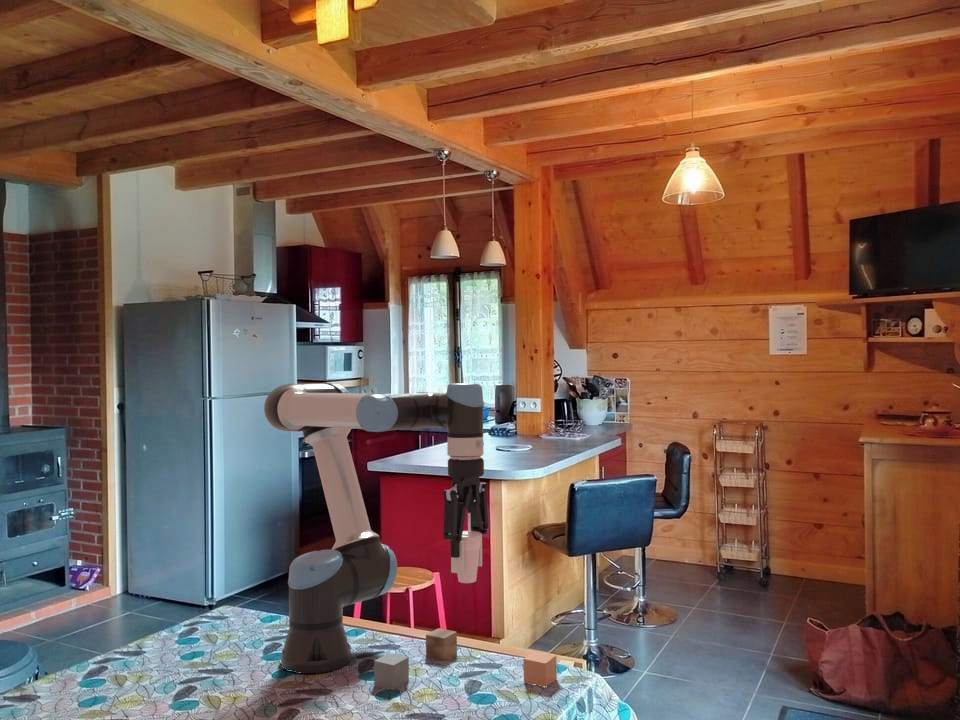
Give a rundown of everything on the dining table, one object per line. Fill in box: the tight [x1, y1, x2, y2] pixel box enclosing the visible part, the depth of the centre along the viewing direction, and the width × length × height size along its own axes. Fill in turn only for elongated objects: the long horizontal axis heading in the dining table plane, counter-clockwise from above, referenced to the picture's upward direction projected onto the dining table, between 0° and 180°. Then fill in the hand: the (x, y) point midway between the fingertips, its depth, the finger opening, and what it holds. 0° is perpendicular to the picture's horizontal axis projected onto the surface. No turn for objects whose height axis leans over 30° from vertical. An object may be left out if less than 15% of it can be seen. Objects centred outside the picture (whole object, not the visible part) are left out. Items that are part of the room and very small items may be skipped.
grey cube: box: [373, 652, 410, 691], centre depth 154 cm, size 5×5×5 cm
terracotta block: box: [523, 650, 558, 687], centre depth 154 cm, size 5×5×5 cm
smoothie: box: [456, 512, 483, 584], centre depth 155 cm, size 6×6×14 cm
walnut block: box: [425, 627, 458, 661], centre depth 169 cm, size 5×5×5 cm
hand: (467, 568), depth 155 cm, fingers closed on smoothie, 6 cm apart
